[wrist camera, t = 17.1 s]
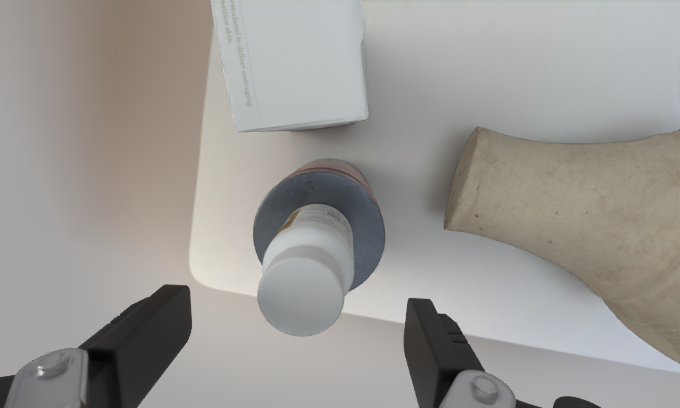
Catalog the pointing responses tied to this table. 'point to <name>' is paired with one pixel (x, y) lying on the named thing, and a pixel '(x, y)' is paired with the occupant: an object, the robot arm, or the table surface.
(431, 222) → the table surface
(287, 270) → the pill bottle
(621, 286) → the vase
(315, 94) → the cosmetic box
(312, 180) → the tin can
